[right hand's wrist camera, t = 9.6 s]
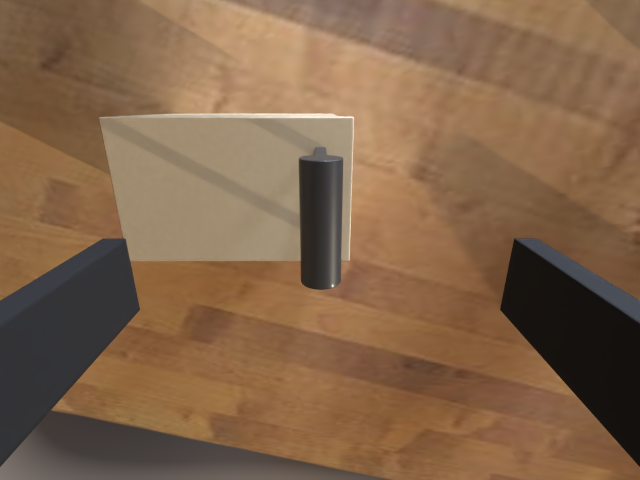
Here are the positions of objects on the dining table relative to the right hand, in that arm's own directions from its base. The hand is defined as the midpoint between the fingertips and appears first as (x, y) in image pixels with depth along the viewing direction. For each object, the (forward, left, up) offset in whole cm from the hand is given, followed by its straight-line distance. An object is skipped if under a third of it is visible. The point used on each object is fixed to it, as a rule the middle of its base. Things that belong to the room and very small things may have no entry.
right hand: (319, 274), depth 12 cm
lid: (+3, -5, -13) cm, 14 cm away
